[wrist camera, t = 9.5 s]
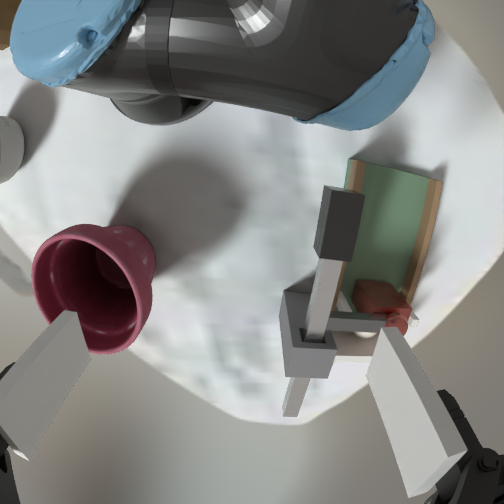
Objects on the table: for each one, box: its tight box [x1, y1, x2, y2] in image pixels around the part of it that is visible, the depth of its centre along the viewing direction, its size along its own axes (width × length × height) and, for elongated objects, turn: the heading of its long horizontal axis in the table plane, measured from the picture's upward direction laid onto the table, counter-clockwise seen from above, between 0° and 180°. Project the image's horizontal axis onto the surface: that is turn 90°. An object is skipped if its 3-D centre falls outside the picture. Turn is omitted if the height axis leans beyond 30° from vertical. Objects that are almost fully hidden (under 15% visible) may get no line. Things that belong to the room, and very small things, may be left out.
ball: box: [354, 332, 376, 339], centre depth 37 cm, size 4×4×4 cm
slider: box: [282, 185, 412, 417], centre depth 32 cm, size 28×13×10 cm, turn 173°
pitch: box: [279, 159, 443, 378], centre depth 32 cm, size 24×17×12 cm
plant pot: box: [31, 224, 156, 354], centre depth 32 cm, size 14×14×13 cm
